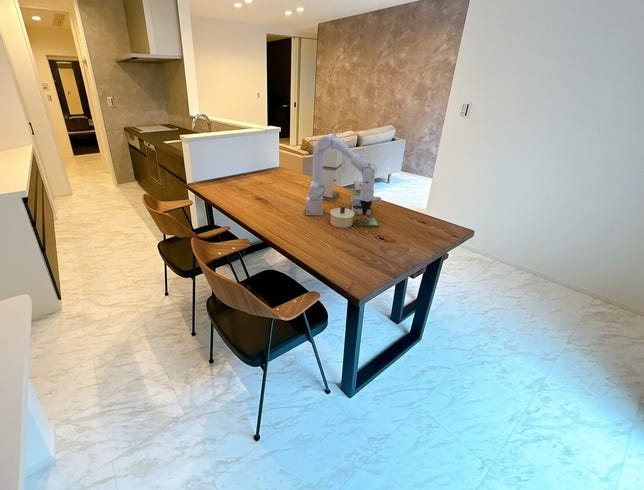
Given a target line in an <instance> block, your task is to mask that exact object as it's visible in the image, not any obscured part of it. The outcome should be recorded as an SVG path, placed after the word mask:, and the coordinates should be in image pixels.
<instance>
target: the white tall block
mask: <svg viewBox="0 0 644 490" xmlns="http://www.w3.org/2000/svg"><path fill="white" fill-rule="evenodd" d="M341 140H342V141H343V142H344V143H345V140H344V139H341ZM343 155H344V154H343V153H342V152H341V151H339V150H338V149H331V147H329V148H328V149H327V150H325V151H324V154H323V175H322V181H323V183H324V188H325V193H324V194H323V200H325V201H331V202H334V201H335V200H336V199H337V198H338V197H339V196H340V191H335V190H334V182H337V179H338V172H339V171H341V169H342V164H343Z"/></svg>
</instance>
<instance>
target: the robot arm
mask: <svg viewBox="0 0 644 490" xmlns="http://www.w3.org/2000/svg"><path fill="white" fill-rule="evenodd" d="M342 140H343V139H341V137H339V136H337V135H336V133H333V132H330V133H328V134H326V135H323V136H321V137H319V139H317V142H316V144H315V145H314V147H313V150H312V175H311V177H312V178H311V183H310V185H309V189H308V191H307V197H305V207H304V210H305V215H306V216H324V211H323V205H324V203H323V201H324V199H323V194H324V193H325V188H324V183H323V181H322V175H323V154H324V151H325V150H327V149H328V148H329V147H331V149H338V150H339V151H341V152H342V153H343V155H345V156H346V157H347V158H348V159H349V160H350V164H351V165H352V166H353V167H355V168H356V169H357V170H358V171H359V172H360V173H361V176H362V180H361V182H362V186H361V195H360V196H353V195H351V196H350V202H352V201H360V203H361V206H362V214H363V215H365V216H367V215H366V212H367V210H368V208H369V207H370V206H371V204H372V205H373V202H378V203H381V202H382V197H381V196H375V195H374V194H373V189H374V187H375V179H376V174H377V172H378V168H377V166H376V164H374V163H372V162H370V161H368V160H367V159H366V158H365V156H364V155H363V154H360V153H355V152H354V151H353V150H352V149H351V148H350V147H349V146H348V145H347V144H346V143H345V141H344V142H343V141H342ZM372 195H373V196H372ZM371 201H372V202H371ZM371 207H372V206H371Z"/></svg>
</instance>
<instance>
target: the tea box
mask: <svg viewBox="0 0 644 490" xmlns="http://www.w3.org/2000/svg"><path fill="white" fill-rule="evenodd" d="M361 186H362V180H361V181H359V180H354V181H353V188H352V196H360V195H361ZM374 191H375V190H374V188H373V195H372V196H374V193H375V192H374ZM371 202H372V204H371V206H370V207H369V208H368V210H367V212H366V215H365V216H371V211H372V205H373V201H371ZM351 210H352V211H353V212H354V213H355V215H360V216H361V215H363V214H362V206H361V203H360V201H351Z"/></svg>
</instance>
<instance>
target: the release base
mask: <svg viewBox="0 0 644 490" xmlns="http://www.w3.org/2000/svg"><path fill="white" fill-rule="evenodd" d="M360 216H361V215H358V216H356V217H355V222H356V225H357V228H379V223H378V221H377V219H376V217H369V216H367V219H366V220H361V219H360Z"/></svg>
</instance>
